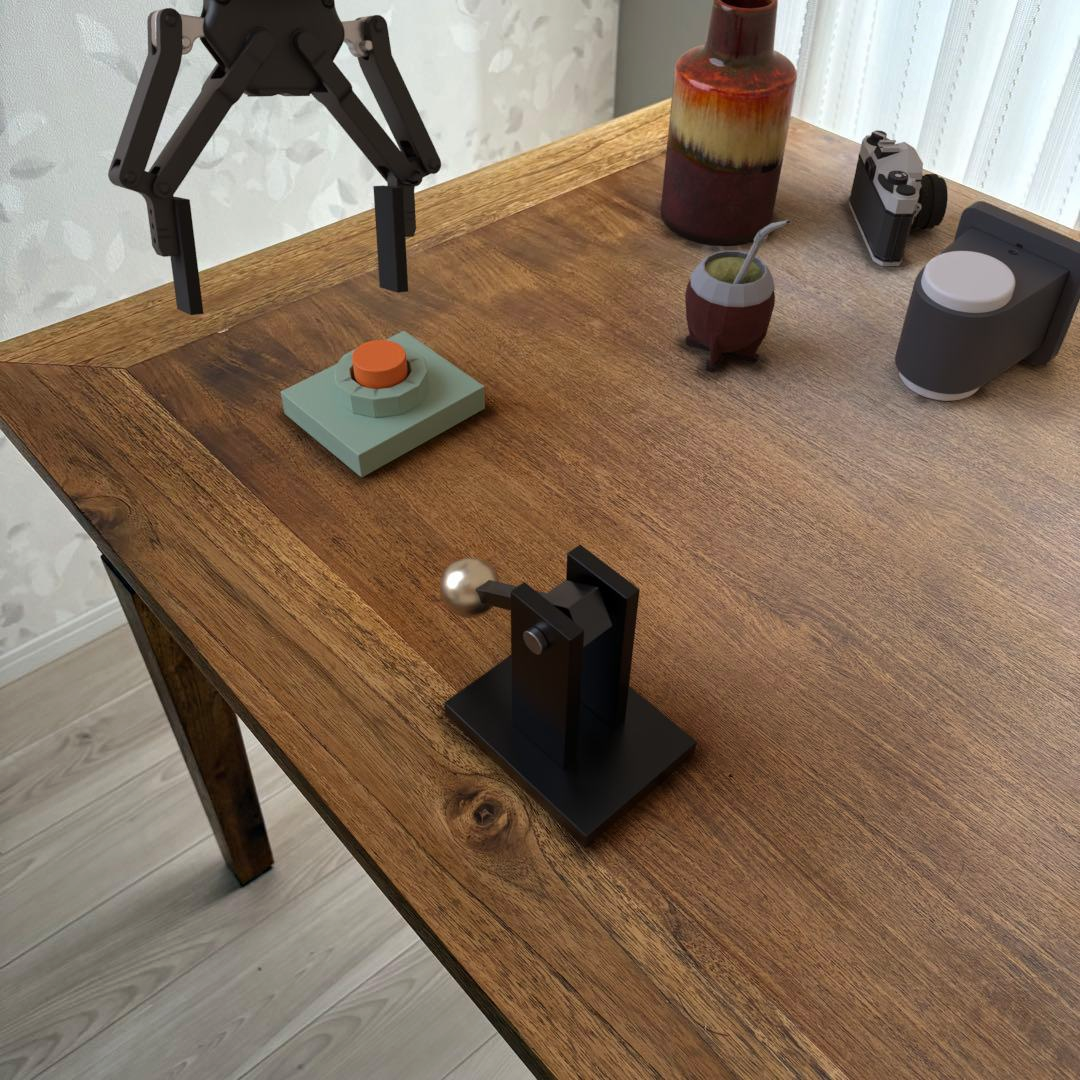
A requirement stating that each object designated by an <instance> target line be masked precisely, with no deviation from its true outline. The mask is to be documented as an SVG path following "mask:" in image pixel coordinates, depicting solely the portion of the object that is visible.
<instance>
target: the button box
mask: <svg viewBox="0 0 1080 1080" xmlns="http://www.w3.org/2000/svg"><path fill="white" fill-rule="evenodd" d="M385 340H389V341H393V342H396V343H398V344H399V345H401V346H402V347H403V348H404V350H405V352H406V361H407V376H406V378H405V380H404V381H403V382H401V383H399V384H398V385H396V386H394V387H391V388H384V389H372V388H367V387H363V386H361V385H360V384H359V383H358V382H357V381H356V379H355V376H354V369H353V362H352V355H353V352H354V351H355V349H352V350H351V351H349V352H346V353H345V354H343V356H342V357H341V358H340V359H339V361H338V362H337V363H336V364H334V365H331V366H330V367H327V368H325V369H324V370H322V371H321V370H320V371H319V372H317V373H315V374H313V375H311V376H310V377H308V378H305V379H303V380H301V381H299V382H297V383H295V384H293V385H291V386H289V387H287V388H285V389H283V390H281V391H280V398H281V403H282V407H283V412H284V415H285V416H286V417H288V418H289V419H290V420H291V421H293V422H294V423H295V424H296V425H298V427H300V428H301V429H302V430H303V431H304V432H306V433H307V434H308V435H309V436H311V437H312V438H313V439H314V440H316V442H318V443H319V444H320V445H321V446H322V447H324V448H325V449H326V450H328V452H329V453H331V454H332V455H334V457H336V458H337V459H338V460H339V461H341V462H342V463H343V464H344V465H346V466H347V467H348V468H349V469H350V470H351V471H353V472H354V473H355V474H357V476H359V477H360V478H364V477H366V476H367V475H370V474H371V473H373V472H374V471H376V470H378V469H380V468H382V467H383V466H385V465H387V464H389V463H391V462H393V461H394V460H396V459H398V458H399V457H401V456H403V455H405V454H406V453H409V452H411V451H412V450H413V449H416V448H417V447H419V446H421V445H422V444H423V445H424V443H426V442H428V441H429V440H432V439H433V438H435V437H437V436H438V435H440V434H442V433H444V432H445V431H448V430H449V429H451V428H453V427H455V426H456V425H458V424H460V423H462V422H463V421H465V420H467V419H468V418H470V417H473V416H474V415H476V414H477V413H479V412H481V411H483V410H485V409H486V398H485V397H486V396H485V395H486V394H485V391H486V390H485V386H484V384H481V382H479V381H478V380H476V379H475V378H473V377H472V376H470V375H469V374H467V373H466V372H464V371H463V370H462V369H461V368H458V366H456V365H454V364H453V363H452V362H451V361H448V360H447V358H444V357H443V356H442V355H440V354H439V353H438V352H436V351H434V350H433V349H432V348H430V347H429V346H427V344H424V343H423V342H421V341H420V340H419V339H418V338H416V337H414V336H413V335H411V334H410V333H408V332H407V331H406V330H402V331H400V332H398V333H396V334H395V335H392V336H390V337H388V338H386V339H385Z"/></svg>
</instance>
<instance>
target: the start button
mask: <svg viewBox="0 0 1080 1080" xmlns="http://www.w3.org/2000/svg"><path fill="white" fill-rule="evenodd" d="M354 350H355V351H354V352H353V355H352V362H353V369H354V376H355V379H356V381H357V382H358V383H359V384H360V385H361V386H363V387H367V388H372V389H384V388H391V387H394V386H396V385H398V384H399V383H401V382H403V381H404V380H405V378H406V376H407V361H406V352H405V350H404V348H403V347H402V346H401V345H399V344H398V343H396V342H393V341H389V340H386V339H374V340H370V341H367V342H364V343H362V344H360V345H359V346H357V347H356V348H355V349H354Z"/></svg>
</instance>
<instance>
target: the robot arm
mask: <svg viewBox="0 0 1080 1080" xmlns="http://www.w3.org/2000/svg"><path fill="white" fill-rule="evenodd" d="M335 3H336V2H335V0H202V10H201V14H200V16H196V15H190V14H182V13H180V12H179V11H178V10H176V9H175V8H172V7H166V8H162V9H157V10H153V11H152V12H150V13H149V15H148V16H147V21H146V22H147V23H146V24H147V25H146V26H147V28H146V29H147V54H146V55H147V56H146V59H145V61H144V64H143V68H142V69H141V73H140V76H139V79H138V83H137V85H136V88H135V91H134V94H133V97H132V100H131V103H130V106H129V109H128V112H127V115H126V118H125V121H124V123H123V127H122V130H121V133H120V136H119V138H118V142H117V145H116V147H115V151H114V153H113V157H112V160H111V162H110V166H109V169H108V173H107V176H108V180H109V181H110V183H111V184H113V186H115V187H119V188H123V189H126V190H129V191H133V192H135V193H138V194H139V195H141V197H143V199H144V201H145V204H146V210H147V217H148V224H149V232H150V240H151V246H152V248H153V250H154V252H155V254H156V255H157V256H160V257H163V258H166V257H169V258H170V263H171V271H172V279H173V280H172V281H173V287H174V293H175V294H174V295H175V302H176V309H177V310H179V311H180V312H183V313H184V314H185V313H186V314H187V315H190V316H196V315H197V316H198V315H204V306H203V298H202V289H201V279H200V273H199V266H198V265H199V263H198V257H197V248H196V247H197V246H196V240H195V239H196V238H195V231H194V223H193V214H192V208H191V199H189V198H183V197H178V196H174V195H175V193H176V192H177V190H178V189H179V188H180V186H181V185H182V183H183V181H184V180H185V178H186V176H187V175H188V173H189V172H190V170H191V169H192V168H193V166H194V164H195V163H196V161H197V160H198V159H199V157H200V156H201V154H202V152H203V150H204V149H205V148H206V146H207V145H208V143H209V142H210V140H211V138H212V137H213V136H214V134H215V132H216V131H217V129H218V128H219V126H220V125H221V123H222V122H223V120H224V119H225V117H226V116H227V114H228V113H229V111H230V110H231V108H232V107H233V106H234V105H235V104H236V103H237V102H239V100H240V99H241V98H242V96H243V95H246V96H247V97H251V98H252V97H254V98H255V97H275V96H278V95H279V96H282V97H310V96H312V97H313V98H314V99H315V100H316V101H317V102H318V103H321V104H322V105H323V106H324V108H325V109H326V110H327V112H329V113H330V115H331V116H332V117H333V118H334V120H335V121H336V122H337V123H338V124H339V126H340V127H341V128H342V129H343V130H344V132H345V133H346V134H347V136H349V138H350V139H351V140H352V142H353V143H354V144H355V145H356V146H357V148H358V149H359V150H360V151H361V153H362V154H363V155H364V157H366V159H367V160H368V161H369V163H370V164H371V165H372V166H373V167H374V168H375V170H376V171H377V172H378V173H379V174H380V176H381V177H382V178H383V179H384V181H386V184H387V185H373V187H372V188H373V203H374V218H375V219H374V220H375V234H376V235H375V237H376V252H377V265H378V283H379V288H381V289H384V290H387V291H391V292H395V293H398V294H399V293H407V292H409V278H408V259H407V258H408V257H407V242H406V240H407V239H406V238H413V237H415V234H416V230H417V219H416V215H417V214H416V198H415V196H416V195H415V188H416V187H418V186H420V185H421V183H422V182H423V180H424V178H425V177H427V176H429V175H435V174H437V173H438V172H440V170H441V168H442V161H441V158H440V156H439V153H438V152H437V149H436V147H435V145H434V143H433V141H432V138H431V136H430V134H429V132H428V130H427V128H426V125H425V123H424V121H423V119H422V117H421V115H420V113H419V110H418V109H417V105H416V104H415V102H414V100H413V97H412V95H411V94H410V91H409V89H408V87H407V84H406V83H405V80H404V78H403V76H402V74H401V71H400V70H399V67H398V65H397V63H396V61H395V59H394V56H393V54H392V47H391V39H390V34H389V27H388V26H389V25H388V22H387V20H386V19H385V17H384V16H382V15H381V14H373V15H366V16H361V17H357V18H356V19H353V20H345V21H342V20H341V19H340V16H339V14H338V12H337V8H336V4H335ZM197 39H199V40H200V42H201V43H202V45H203V46H204V48H205V49H206V50H207V51H208V52H209V54H210V55H211V57H212V58H213V59H214V61H215V62H216V64H215V66H214V67H213V69H212V70H211V72H210V73H209V74H208V76H207V78H206V80H204V82H203V84H202V86H201V90H200V93H199V94H198V96H197V97H196V98H195V100H194V102H193V103H192V105H191V106H190V108H189V110H188V111H187V112H186V114H185V116H184V117H183V118H182V120H181V121H180V122H179V124H178V126H177V127H176V129H175V130H174V132H173V134H172V135H171V137H170V138H169V139H168V141H167V142H166V144H165V146H164V147H163V149H162V150H161V152H160V153H159V155H158V156H157V157H156V159H155V161H154V162H153V164H152V166H151V167H150V168H149V170H148V171H146V168H147V166H148V162H149V160H150V157H151V154H152V151H153V148H154V144H155V143H156V138H157V136H158V134H159V130H160V127H161V124H162V121H163V118H164V115H165V112H166V110H167V106H168V103H169V101H170V98H171V95H172V92H173V89H174V87H175V83H176V80H177V77H178V74H179V71H180V67H181V64H182V58H183V56H184V55H188V54H189V53H191V51H192V50H193V47H194V43H195V41H196V40H197ZM343 44H345V45H346V46H347V49H348V50H349V52H350V54H351V55H352V56H353V57H355V58H357V61H358V64H359V67H360V70H361V72H362V74H363V76H364V78H365V80H366V83H367V85H368V86H369V89H370V91H371V93H372V96H373V97H374V99H375V101H376V103H377V105H378V107H379V110H380V111H381V113H382V115H383V118H384V120H385V122H386V124H387V127H388V128H389V130H390V132H391V135H392V136H393V138H394V140H395V142H394V140H393V139H392V138H391V137H390V135H388V133H387V132H386V131H385V129H384V128H383V127H382V126H381V124H380V123H379V122H378V121H377V120H376V118H375V117H374V116H373V114H372V113H371V112H370V110H369V109H368V108H367V107H366V105H365V104H364V103H363V102H362V100H361V99H360V98H359V96H357V94H356V93H355V91H354V90H353V85H352V84H351V82H350V81H349V79H348V78H347V77H346V76H345V74H344V72H343V71H341V69H340V68H339V67H338V65H337V64H336V63H335V62H334V61H335V59H336V58H337V55H338V53H339V51H340V50H341V48H342V46H343Z"/></svg>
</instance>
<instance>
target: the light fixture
mask: <svg viewBox="0 0 1080 1080" xmlns="http://www.w3.org/2000/svg"><path fill="white" fill-rule="evenodd" d="M1079 304H1080V241H1078V240H1076V239H1074V238H1072V237H1069V236H1067V235H1065V234H1062V233H1060V232H1057V231H1055V230H1053V229H1051V228H1048V227H1046V226H1043V225H1041V224H1039V223H1036V222H1034V221H1031V220H1029V219H1027V218H1026V217H1025V218H1024V217H1023V216H1020V215H1018V214H1015V213H1013V212H1011V211H1008V210H1006V209H1003V208H1001V207H998V206H996V205H994V204H992V203H990V202H986V201H983V200H977V201H974V202H973V203H972V204H970V205H968V206H967V207H966V208H965V209H964V210H962V212H961V215H960V217H959V220H958V223H957V228H956V231H955V235H954V238H953V241H952V242H951V243H950V244H949V245H948V246H947V247H946V248H944V249H943V250H942V251H941V252H940V253H938V255H936V256H934V257H933V258H931V259H930V260H929V261H928V262H927V263H926V265H924V267H923V268H922V269H921V270H920V271H919V272H918V274H917V275H916V277H915V279H914V282H913V286H912V290H911V294H910V298H909V301H908V305H907V309H906V313H905V317H904V321H903V325H902V328H901V333H900V336H899V340H898V344H897V347H896V352H895V355H894V356H895V357H894V364H895V367H896V369H897V370H898V375H899V378H900V379H901V381H902V383H903V384H904V385H905V386H906V387H907V388H908V389H909V390H911V391H912V392H914V393H916V394H917V395H919V396H922V397H924V398H927V399H930V400H935V401H942V402H943V401H944V402H950V401H951V402H952V401H958V400H959V401H960V400H963V399H966V398H969V397H971V396H972V395H974V394H976V393H977V391H979V389H980V388H981V387H983V386H985V385H986V384H988V383H989V382H991V381H992V380H994V379H995V378H997V377H998V376H1000V375H1001V374H1003V373H1004V372H1006V371H1008V370H1009V369H1010V368H1012V367H1013V366H1015V365H1016V364H1018V363H1019V362H1021V361H1022V360H1024V361H1026V362H1027V363H1029V364H1031V365H1034V366H1037V367H1044V366H1047V365H1048V364H1049V363H1050V362H1051V361H1052V360H1054V359H1055V358H1056V357H1057V356H1058V355H1059V353H1060V351H1061V348H1062V346H1063V343H1064V340H1065V338H1066V336H1067V333H1068V331H1069V328H1070V325H1071V323H1072V321H1073V318H1074V316H1075V313H1076V310H1077V308H1078V306H1079Z"/></svg>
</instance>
